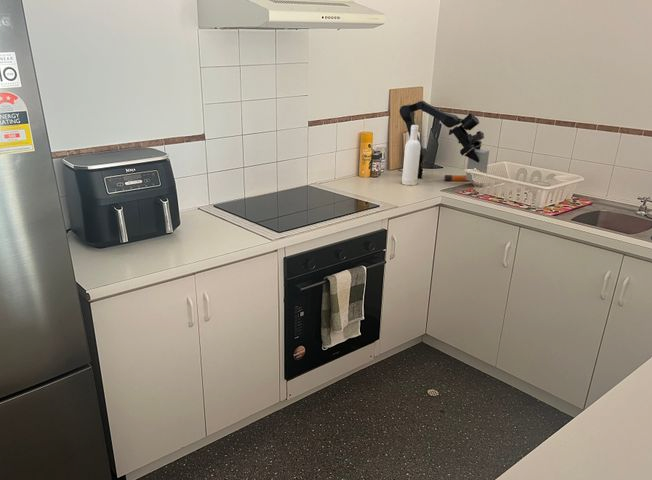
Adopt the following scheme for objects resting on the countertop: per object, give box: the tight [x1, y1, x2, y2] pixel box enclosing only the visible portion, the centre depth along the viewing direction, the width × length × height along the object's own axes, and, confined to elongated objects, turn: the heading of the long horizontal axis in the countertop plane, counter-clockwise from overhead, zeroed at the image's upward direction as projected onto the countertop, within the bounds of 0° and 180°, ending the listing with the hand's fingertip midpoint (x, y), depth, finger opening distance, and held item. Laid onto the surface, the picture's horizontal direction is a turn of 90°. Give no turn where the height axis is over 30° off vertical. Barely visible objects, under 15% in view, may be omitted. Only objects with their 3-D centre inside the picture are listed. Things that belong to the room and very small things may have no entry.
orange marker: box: [443, 174, 470, 182], centre depth 297 cm, size 14×3×3 cm, turn 90°
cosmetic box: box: [465, 149, 490, 182], centre depth 284 cm, size 8×7×16 cm
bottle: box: [401, 124, 422, 186], centre depth 285 cm, size 8×8×30 cm
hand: (480, 160), depth 282 cm, fingers closed on cosmetic box, 7 cm apart
